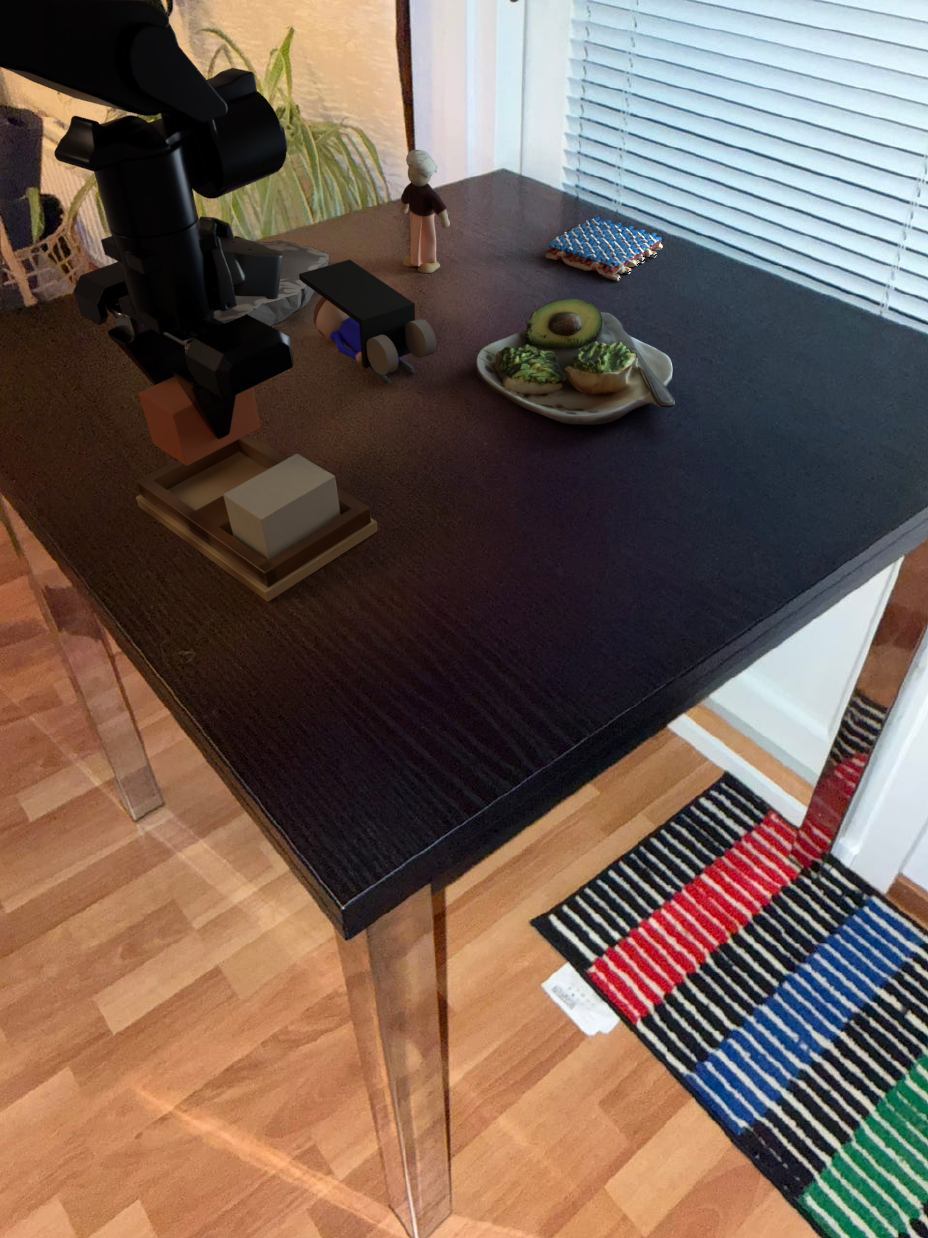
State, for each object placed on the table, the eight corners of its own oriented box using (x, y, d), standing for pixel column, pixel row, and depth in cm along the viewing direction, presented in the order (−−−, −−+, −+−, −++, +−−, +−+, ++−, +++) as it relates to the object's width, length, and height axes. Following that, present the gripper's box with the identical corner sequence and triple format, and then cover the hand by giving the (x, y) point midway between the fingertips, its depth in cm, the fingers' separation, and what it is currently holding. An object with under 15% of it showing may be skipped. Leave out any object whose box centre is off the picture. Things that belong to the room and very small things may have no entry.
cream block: (271, 567, 69) (260, 519, 66) (234, 541, 71) (222, 494, 68) (342, 523, 72) (335, 475, 69) (304, 499, 75) (296, 452, 71)
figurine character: (440, 387, 91) (353, 317, 98) (443, 318, 85) (350, 249, 93) (385, 411, 88) (299, 337, 95) (384, 341, 82) (293, 268, 90)
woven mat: (540, 259, 108) (541, 242, 107) (592, 230, 114) (593, 213, 113) (615, 283, 104) (617, 265, 102) (665, 251, 109) (667, 234, 108)
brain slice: (231, 254, 111) (226, 229, 109) (353, 279, 105) (350, 253, 103) (121, 325, 98) (113, 298, 96) (252, 358, 93) (247, 330, 91)
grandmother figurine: (388, 265, 108) (379, 149, 99) (407, 253, 110) (400, 139, 101) (442, 280, 105) (439, 162, 96) (461, 268, 107) (459, 151, 98)
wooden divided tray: (378, 531, 73) (375, 506, 71) (267, 602, 67) (261, 577, 66) (246, 449, 82) (241, 425, 80) (138, 506, 76) (130, 481, 74)
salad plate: (728, 391, 87) (737, 346, 84) (591, 462, 79) (595, 415, 76) (585, 317, 98) (588, 275, 95) (451, 373, 90) (450, 329, 87)
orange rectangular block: (186, 466, 70) (172, 414, 66) (153, 443, 72) (137, 392, 69) (260, 427, 73) (250, 376, 70) (226, 407, 75) (215, 357, 72)
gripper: (340, 220, 60) (362, 426, 71) (176, 156, 70) (218, 347, 81) (198, 276, 55) (246, 491, 66) (39, 199, 64) (104, 398, 75)
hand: (204, 424), depth 72 cm, fingers closed on orange rectangular block, 4 cm apart
